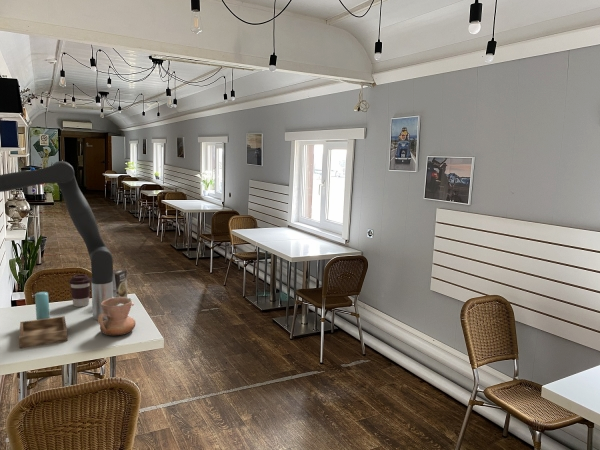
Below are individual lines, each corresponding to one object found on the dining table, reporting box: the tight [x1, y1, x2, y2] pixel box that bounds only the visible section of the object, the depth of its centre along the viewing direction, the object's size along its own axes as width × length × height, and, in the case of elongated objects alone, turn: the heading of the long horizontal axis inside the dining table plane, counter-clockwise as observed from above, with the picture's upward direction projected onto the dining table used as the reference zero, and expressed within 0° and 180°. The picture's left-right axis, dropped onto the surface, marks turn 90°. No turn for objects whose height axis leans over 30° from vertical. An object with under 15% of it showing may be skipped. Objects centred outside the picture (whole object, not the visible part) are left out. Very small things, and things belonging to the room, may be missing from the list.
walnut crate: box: [18, 316, 68, 349], centre depth 197 cm, size 17×18×4 cm
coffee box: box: [113, 268, 128, 298], centre depth 242 cm, size 9×6×16 cm
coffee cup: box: [68, 273, 91, 308], centre depth 235 cm, size 10×10×15 cm
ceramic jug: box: [97, 296, 136, 336], centre depth 203 cm, size 18×14×14 cm
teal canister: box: [34, 291, 51, 320], centre depth 210 cm, size 5×5×14 cm
